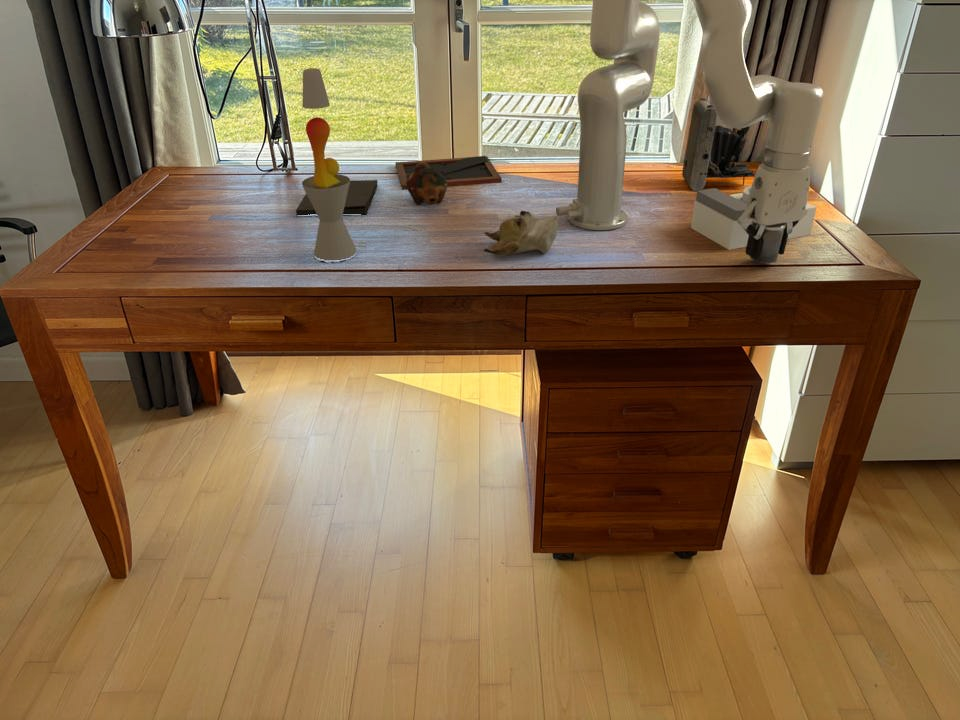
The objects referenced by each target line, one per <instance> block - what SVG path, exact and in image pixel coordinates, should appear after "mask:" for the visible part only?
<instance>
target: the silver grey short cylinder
mask: <svg viewBox="0 0 960 720" xmlns="http://www.w3.org/2000/svg"><path fill="white" fill-rule="evenodd" d="M758 225H759V224H757V225H756V227H755V229H756V230H757V228H758ZM785 226H786V223H782V224H776V225H769V226H766V227H765V229H764V231H763V233H762V235H761V237H760V238H761V239H763V242H762V246H761V251H760V255H759V258H758V259H754V258H752V257H751V256H749V258H750V259H751V260H752V261H755V262H758V263H763V264H771V263H776V262H777V261H778V259H779V255H780V254H779V250H780V246H781V241H782V237H783V232H784V229H785Z"/></svg>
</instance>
